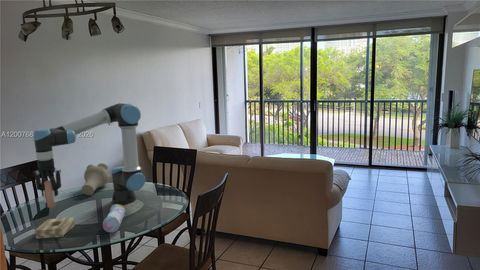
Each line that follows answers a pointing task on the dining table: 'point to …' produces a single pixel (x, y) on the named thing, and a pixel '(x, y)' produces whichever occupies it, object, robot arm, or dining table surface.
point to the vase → (95, 178)
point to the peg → (49, 194)
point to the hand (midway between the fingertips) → (51, 201)
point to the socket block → (54, 228)
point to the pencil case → (114, 218)
